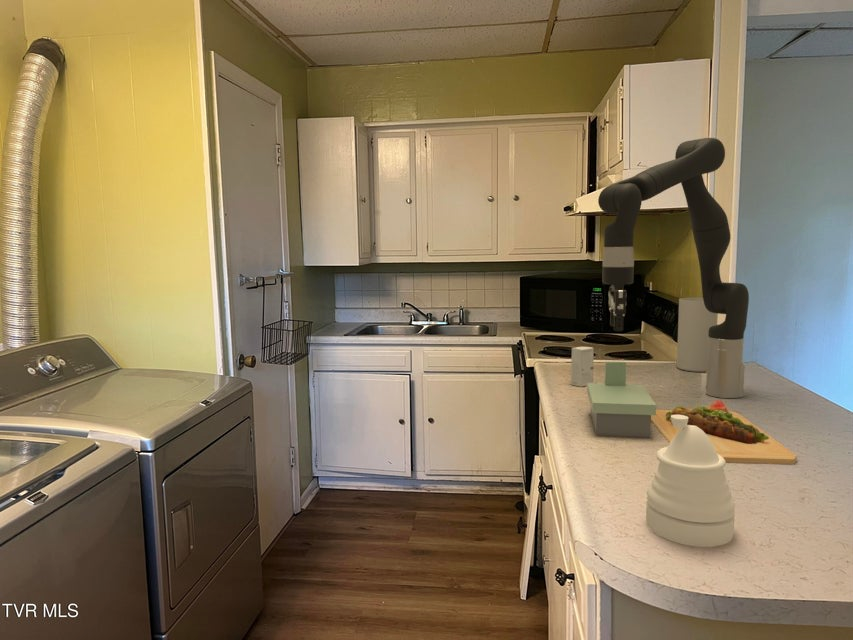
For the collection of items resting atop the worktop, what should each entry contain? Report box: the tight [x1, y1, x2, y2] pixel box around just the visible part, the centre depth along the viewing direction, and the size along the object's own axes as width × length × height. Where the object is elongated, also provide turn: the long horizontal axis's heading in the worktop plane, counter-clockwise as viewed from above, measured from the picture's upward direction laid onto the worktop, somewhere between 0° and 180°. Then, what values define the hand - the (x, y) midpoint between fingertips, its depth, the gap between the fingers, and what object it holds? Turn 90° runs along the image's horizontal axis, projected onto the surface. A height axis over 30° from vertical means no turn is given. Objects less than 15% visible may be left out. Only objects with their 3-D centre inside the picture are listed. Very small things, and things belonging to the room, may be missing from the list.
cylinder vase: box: [676, 297, 719, 373], centre depth 208 cm, size 12×12×25 cm
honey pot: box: [645, 415, 736, 548], centre depth 93 cm, size 13×13×18 cm
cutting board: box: [651, 399, 798, 465], centre depth 138 cm, size 35×23×8 cm
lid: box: [586, 361, 657, 415], centre depth 144 cm, size 14×20×8 cm
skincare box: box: [570, 346, 595, 388], centre depth 189 cm, size 6×4×12 cm
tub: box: [589, 407, 652, 439], centre depth 144 cm, size 12×18×8 cm, turn 169°
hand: (616, 328), depth 150 cm, fingers open, 8 cm apart
